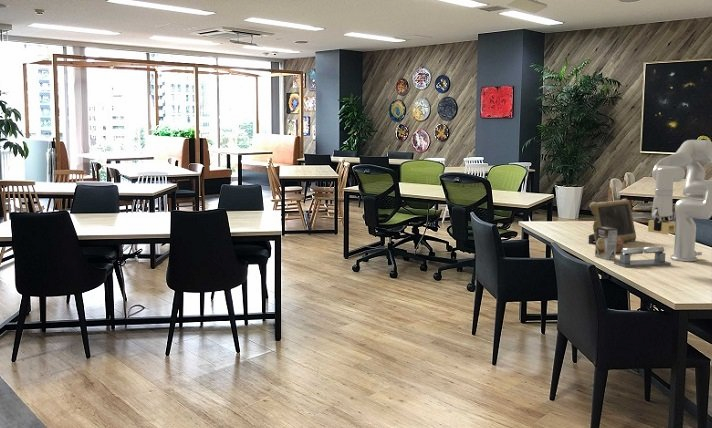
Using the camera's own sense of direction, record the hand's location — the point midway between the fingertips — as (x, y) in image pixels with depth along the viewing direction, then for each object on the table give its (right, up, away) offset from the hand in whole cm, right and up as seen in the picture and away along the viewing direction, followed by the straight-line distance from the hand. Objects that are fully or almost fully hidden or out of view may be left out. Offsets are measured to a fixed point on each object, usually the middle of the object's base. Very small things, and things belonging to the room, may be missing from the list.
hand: (661, 229), depth 318 cm
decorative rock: (-6, -13, +45) cm, 48 cm away
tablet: (+4, -9, +72) cm, 73 cm away
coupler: (0, -1, 0) cm, 1 cm away
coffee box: (-16, -16, +29) cm, 37 cm away
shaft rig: (-4, -18, +13) cm, 22 cm away
